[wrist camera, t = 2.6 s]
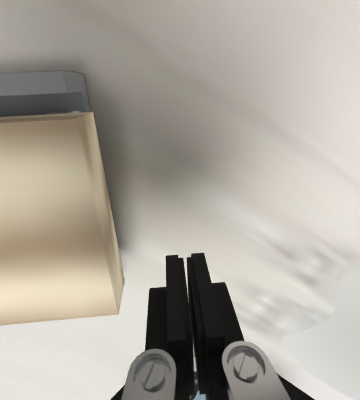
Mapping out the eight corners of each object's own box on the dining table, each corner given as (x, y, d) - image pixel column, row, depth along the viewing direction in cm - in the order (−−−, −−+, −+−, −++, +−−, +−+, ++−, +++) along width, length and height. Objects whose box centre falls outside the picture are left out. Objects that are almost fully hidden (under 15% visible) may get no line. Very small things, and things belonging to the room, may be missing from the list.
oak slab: (-62, 120, 13) (-123, 129, 10) (92, 112, 13) (75, 119, 10) (15, 289, 18) (-11, 326, 15) (124, 280, 18) (118, 314, 16)
